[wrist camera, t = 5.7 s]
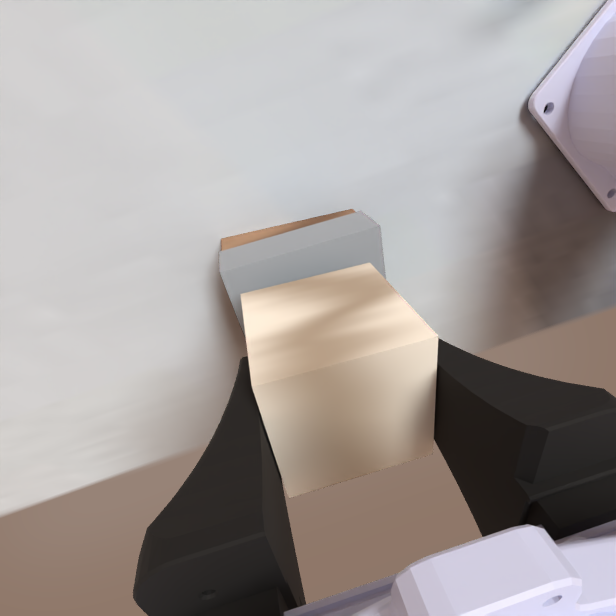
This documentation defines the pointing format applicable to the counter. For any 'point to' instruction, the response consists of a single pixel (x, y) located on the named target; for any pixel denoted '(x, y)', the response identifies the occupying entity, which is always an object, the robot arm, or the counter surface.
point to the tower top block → (301, 255)
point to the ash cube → (340, 376)
